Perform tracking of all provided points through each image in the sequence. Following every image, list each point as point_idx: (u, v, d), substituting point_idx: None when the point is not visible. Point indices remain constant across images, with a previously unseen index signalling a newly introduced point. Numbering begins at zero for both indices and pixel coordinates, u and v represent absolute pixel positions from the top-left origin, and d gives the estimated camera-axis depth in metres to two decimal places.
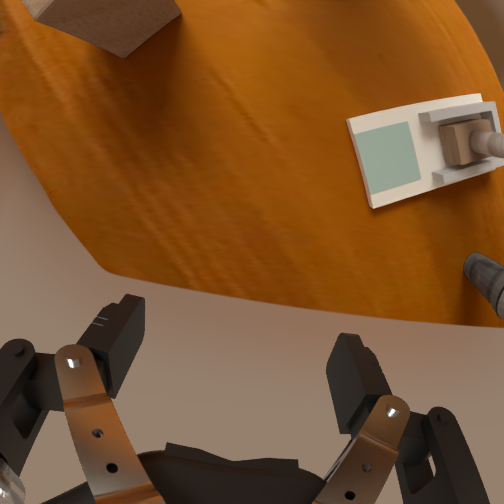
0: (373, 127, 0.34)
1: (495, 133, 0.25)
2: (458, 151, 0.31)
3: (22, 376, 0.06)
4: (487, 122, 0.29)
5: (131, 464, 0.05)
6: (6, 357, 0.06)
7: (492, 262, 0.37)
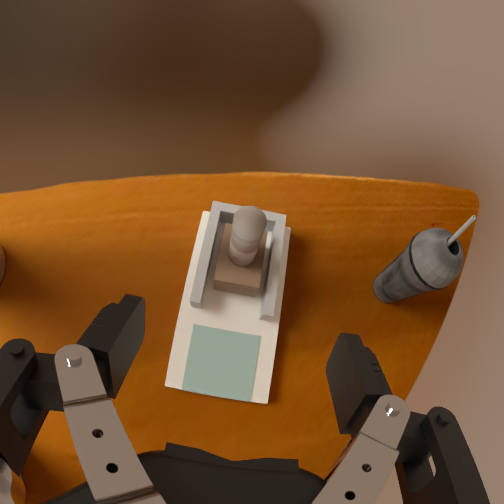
0: (184, 366, 0.33)
1: (231, 236, 0.30)
2: (243, 285, 0.34)
3: (22, 376, 0.06)
4: (227, 227, 0.36)
5: (131, 464, 0.05)
6: (6, 357, 0.06)
7: (388, 270, 0.37)
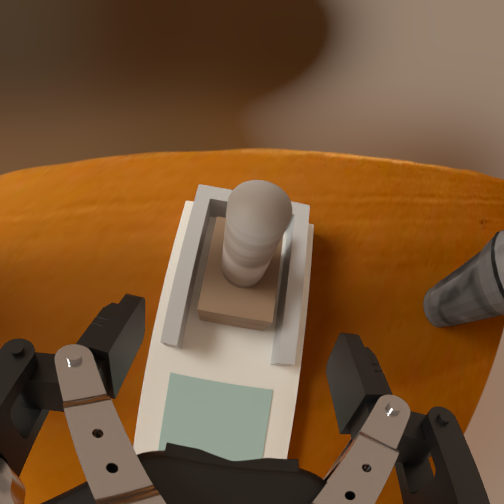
0: (158, 433, 0.20)
1: (224, 237, 0.17)
2: (246, 318, 0.20)
3: (22, 375, 0.06)
4: (220, 223, 0.22)
5: (131, 464, 0.05)
6: (6, 357, 0.06)
7: (451, 284, 0.24)
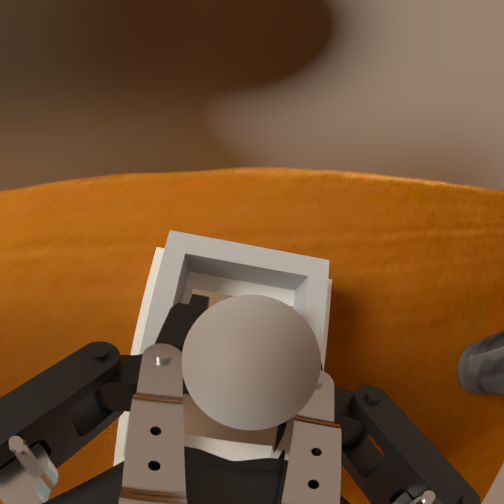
0: None
1: None
2: (236, 441, 0.12)
3: (96, 380, 0.07)
4: None
5: (175, 468, 0.05)
6: (86, 357, 0.07)
7: (498, 354, 0.16)
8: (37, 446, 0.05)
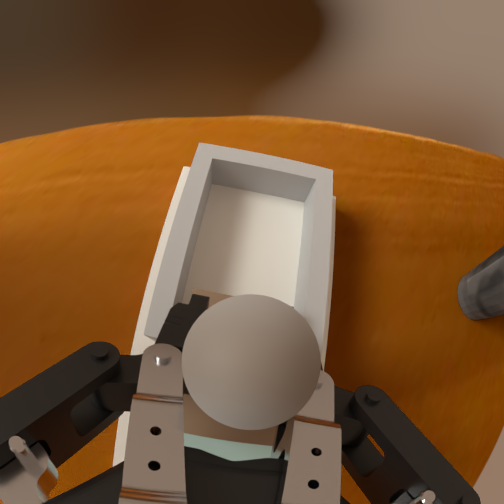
0: None
1: None
2: (235, 441, 0.12)
3: (96, 380, 0.07)
4: None
5: (175, 468, 0.05)
6: (86, 357, 0.07)
7: (493, 268, 0.19)
8: (37, 446, 0.05)
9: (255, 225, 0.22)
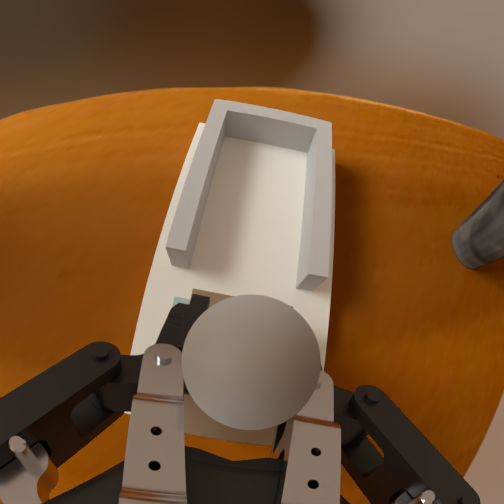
0: None
1: None
2: (235, 441, 0.12)
3: (97, 380, 0.07)
4: None
5: (175, 468, 0.05)
6: (87, 357, 0.07)
7: (482, 212, 0.21)
8: (37, 446, 0.05)
9: (264, 169, 0.24)
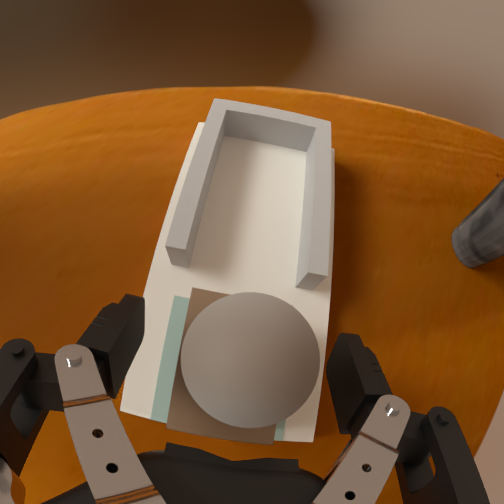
0: (155, 375, 0.17)
1: None
2: (235, 440, 0.12)
3: (22, 375, 0.06)
4: (196, 299, 0.15)
5: (131, 464, 0.05)
6: (6, 357, 0.06)
7: (481, 211, 0.21)
8: None
9: (263, 168, 0.24)
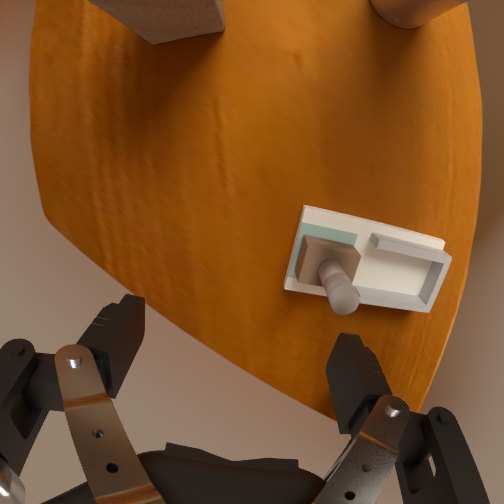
0: (322, 224, 0.40)
1: (339, 275, 0.32)
2: (301, 269, 0.38)
3: (22, 375, 0.06)
4: (356, 257, 0.37)
5: (131, 463, 0.05)
6: (6, 357, 0.06)
7: None
8: None
9: (412, 274, 0.42)
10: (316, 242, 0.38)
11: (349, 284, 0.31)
